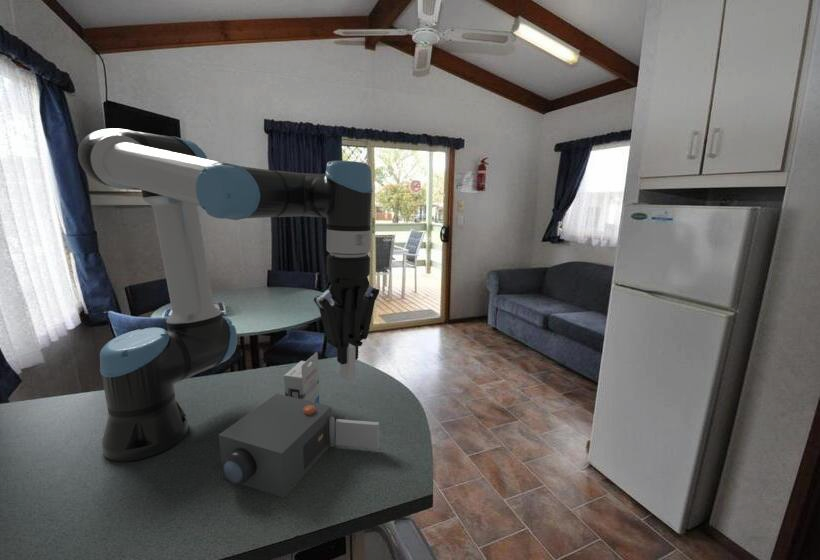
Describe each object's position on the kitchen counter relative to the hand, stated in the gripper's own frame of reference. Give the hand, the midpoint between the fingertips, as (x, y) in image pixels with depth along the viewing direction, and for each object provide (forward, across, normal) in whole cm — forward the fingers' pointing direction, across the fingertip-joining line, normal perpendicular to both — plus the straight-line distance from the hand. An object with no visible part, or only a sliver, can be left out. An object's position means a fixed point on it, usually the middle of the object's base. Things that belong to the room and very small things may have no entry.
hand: (347, 377), depth 70 cm
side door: (+18, +5, +2) cm, 19 cm away
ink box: (+20, +3, +22) cm, 30 cm away
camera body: (+19, -10, +9) cm, 23 cm away
